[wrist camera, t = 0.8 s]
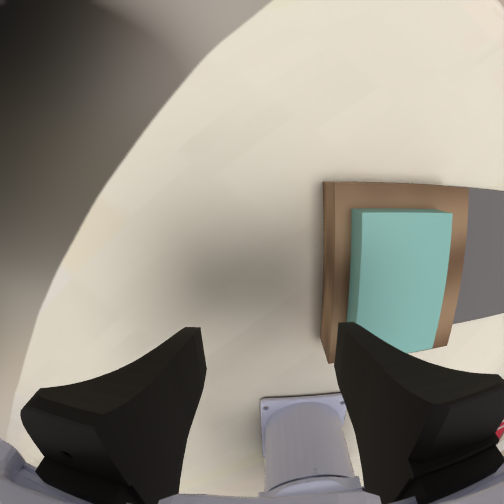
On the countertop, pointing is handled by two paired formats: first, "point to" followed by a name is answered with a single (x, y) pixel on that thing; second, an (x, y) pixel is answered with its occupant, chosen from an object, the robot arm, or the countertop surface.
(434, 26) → the countertop surface
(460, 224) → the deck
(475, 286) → the mat
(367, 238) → the block
